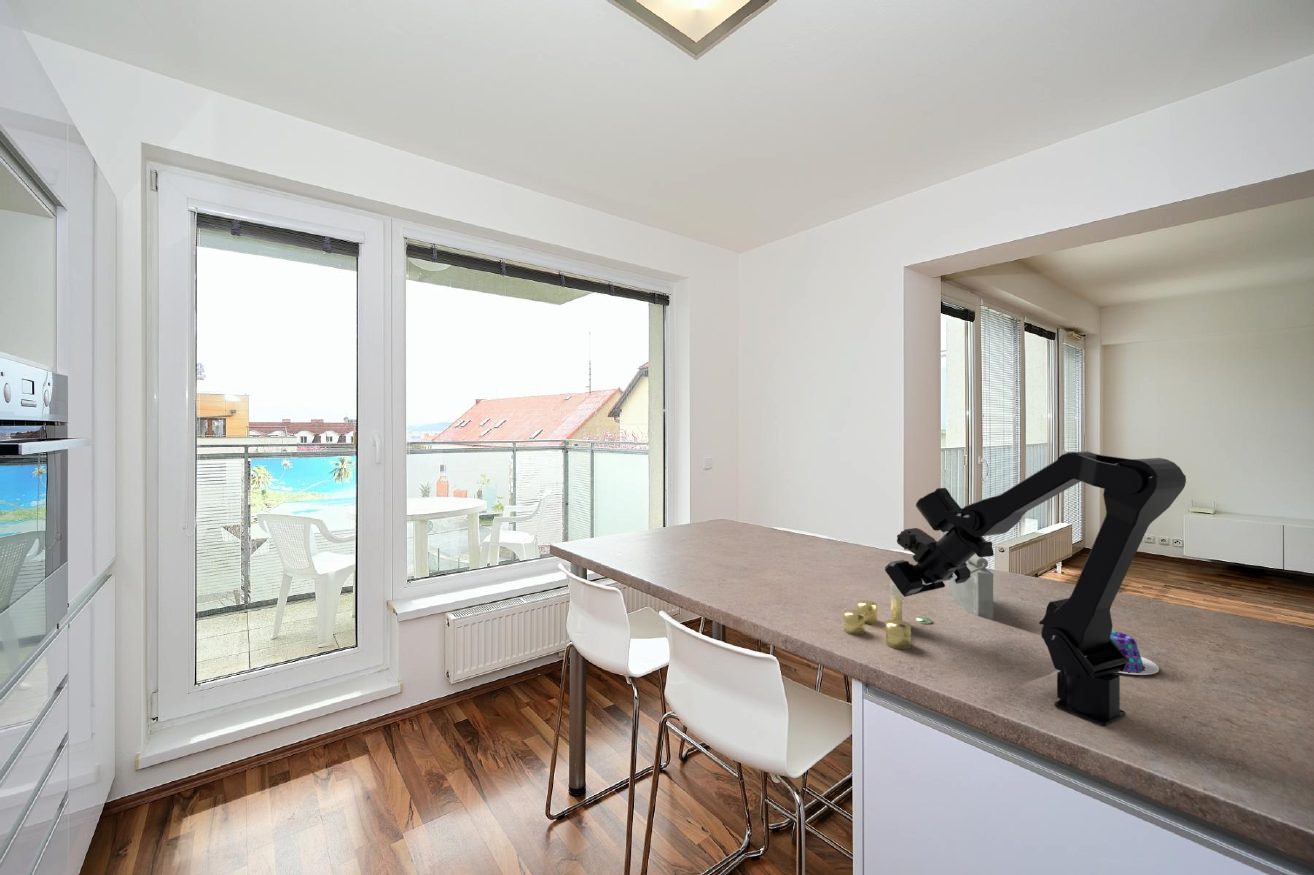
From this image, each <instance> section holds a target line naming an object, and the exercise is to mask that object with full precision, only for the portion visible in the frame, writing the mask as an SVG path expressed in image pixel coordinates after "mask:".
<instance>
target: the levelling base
mask: <svg viewBox="0 0 1314 875" xmlns="http://www.w3.org/2000/svg"><path fill="white" fill-rule="evenodd" d="M856 605H857V606H856V609H847V610H845V609H844V610H843V632H844V633H845V634H848V635H852V636H861V635H865V632H866V628H865V626H866V625H876V624H878V603H877V602H874V601H872V600H858V601H857V603H856ZM915 622H917V623H919V624H922V625H931V624H932V619H931V618H930V617H927V616H916V617H915Z"/></svg>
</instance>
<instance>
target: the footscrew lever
mask: <svg viewBox="0 0 1314 875" xmlns="http://www.w3.org/2000/svg"><path fill="white" fill-rule="evenodd" d="M885 644H886V646H888V647H890V648H893V649H895V650H896V649H897V650H908V649H911V648H912V625H911V623H909V622H907V621H904V620H903V595H902V593H901V592H900V591H899V590H898V588H897V587H896V585H895V584H894V582H893V581H892V580H891V579H890V619H888V620H885Z"/></svg>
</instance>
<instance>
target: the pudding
mask: <svg viewBox="0 0 1314 875" xmlns="http://www.w3.org/2000/svg"><path fill="white" fill-rule="evenodd" d="M1110 638H1111V639H1112V641H1113V642H1114V643H1115V644H1116V645H1117V646H1118V648H1119V649H1120V650H1121V651H1122V652H1123V653H1124V654H1125V656H1126V657H1127V658H1128V659H1129V663H1128V665H1127V667H1126V669H1125V671H1122V672H1121V671H1120V672H1117V673H1119V674H1126V675H1137V676H1139V675H1140V676H1142V675H1143V676H1144V675H1153V674H1157V673H1158V672H1159V671H1160V667H1159V666H1158V665H1157V664H1156V663H1155V662H1153V661H1151V660H1150V659H1148V658H1146V657H1143V656H1141V653H1140V650H1139V648H1138V644H1137V641H1136V640H1135V639H1134V638H1133V636H1131V635H1130V634H1126V633H1123V632H1122V631H1121V632H1120V631H1115V630H1112V631H1111V636H1110ZM1143 664H1145V666H1143ZM1144 667H1147V668H1144ZM1144 670H1145V671H1144ZM1139 671H1140V672H1141V673H1136V672H1139ZM1128 672H1130V673H1128Z"/></svg>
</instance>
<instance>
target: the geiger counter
mask: <svg viewBox="0 0 1314 875" xmlns="http://www.w3.org/2000/svg"><path fill="white" fill-rule="evenodd" d="M965 563H966V564H967V567H968V569H969V570H970V578H969V579H968V580H967V581H965V582H963V583H958V584H956V583H955V582H954V580H955V579H956V578H957V576H956V575H955V574H954V572H953V575H952V576H953V578H951V579H950V580H948V596H950V597H951V598H952V599H953V600H954V601H955V602H956V603H958V605H960V606H961V608H963V609H964V610H965V611H966V612H967V613H968V614H971V615H972V616H973V615H974V616H977V617H980V618H983V619H986V620H990V621H991V622H992V621H994V573H993V572H992V571H991V570H989V569H987V567H988V566H989V561H988V560H987V559H986V557H978V556H977V554H976V553H975V554H974V555H973V556H972V557H971V558H970V559H969V560H967V561H966V562H965Z"/></svg>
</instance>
